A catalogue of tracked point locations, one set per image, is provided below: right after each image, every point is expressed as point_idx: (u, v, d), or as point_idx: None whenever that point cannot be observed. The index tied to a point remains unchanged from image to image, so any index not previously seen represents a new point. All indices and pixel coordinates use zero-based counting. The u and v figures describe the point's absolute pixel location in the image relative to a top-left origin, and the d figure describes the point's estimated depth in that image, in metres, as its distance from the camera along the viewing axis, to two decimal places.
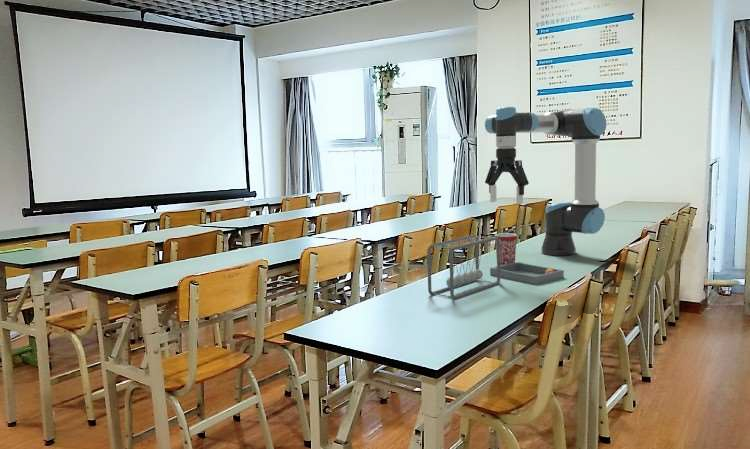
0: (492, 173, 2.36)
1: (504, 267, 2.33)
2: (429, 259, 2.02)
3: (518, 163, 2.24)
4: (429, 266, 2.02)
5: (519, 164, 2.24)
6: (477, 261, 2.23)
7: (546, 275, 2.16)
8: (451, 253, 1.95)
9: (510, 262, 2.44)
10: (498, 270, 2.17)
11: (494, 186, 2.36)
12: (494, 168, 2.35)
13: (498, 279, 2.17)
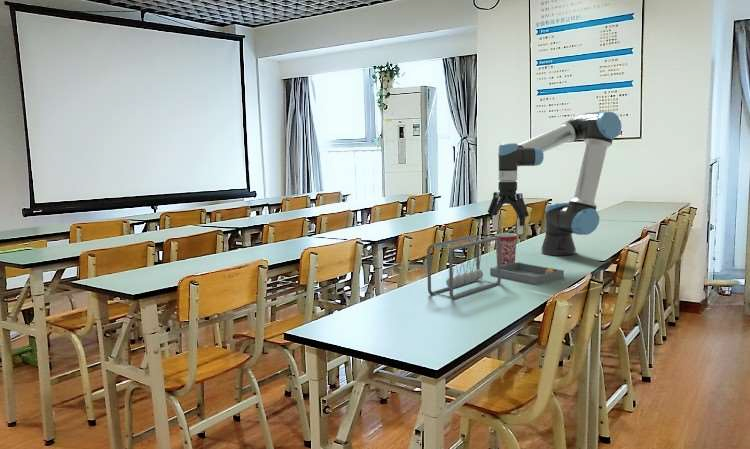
0: (494, 204, 2.52)
1: (504, 267, 2.33)
2: (429, 259, 2.02)
3: (519, 196, 2.39)
4: (429, 266, 2.02)
5: (520, 197, 2.40)
6: (478, 261, 2.23)
7: (546, 275, 2.16)
8: (450, 253, 1.95)
9: (510, 262, 2.44)
10: (499, 270, 2.17)
11: (496, 216, 2.52)
12: (496, 199, 2.51)
13: (499, 279, 2.17)
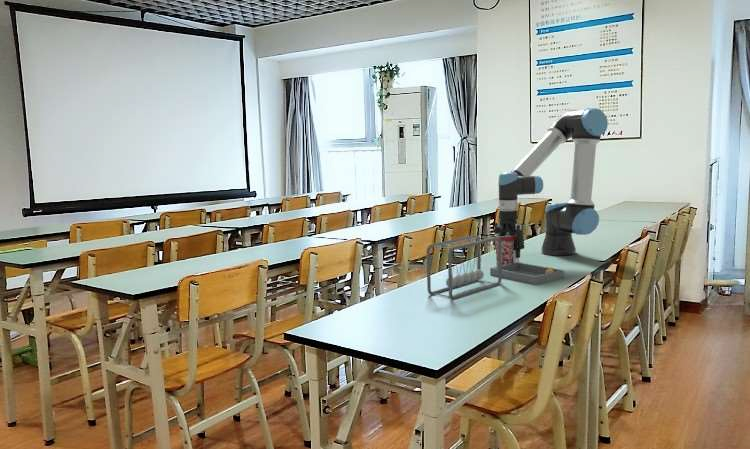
0: None
1: (504, 267, 2.33)
2: (428, 259, 2.02)
3: (519, 228, 2.41)
4: (428, 266, 2.02)
5: (520, 229, 2.42)
6: (479, 261, 2.23)
7: (546, 275, 2.16)
8: (449, 253, 1.95)
9: (510, 262, 2.44)
10: (499, 270, 2.16)
11: None
12: (498, 229, 2.52)
13: (499, 279, 2.17)
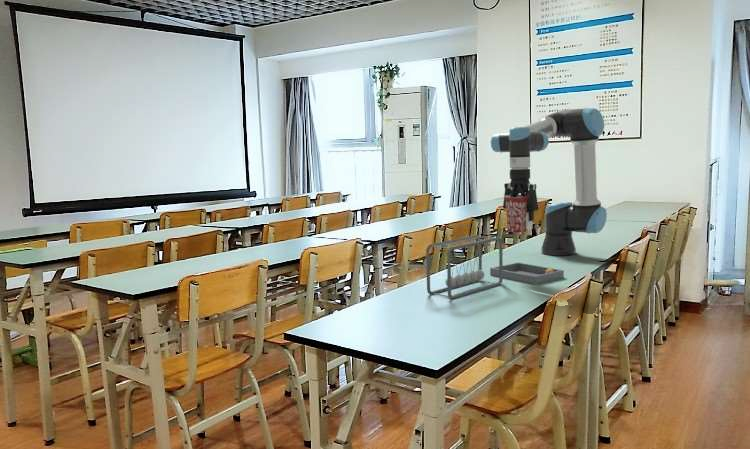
0: None
1: (504, 267, 2.33)
2: (428, 259, 2.02)
3: (532, 188, 2.19)
4: (428, 266, 2.03)
5: (533, 189, 2.19)
6: (480, 261, 2.22)
7: (546, 275, 2.16)
8: (448, 253, 1.95)
9: (522, 226, 2.22)
10: (500, 271, 2.16)
11: None
12: (509, 191, 2.29)
13: (500, 280, 2.16)
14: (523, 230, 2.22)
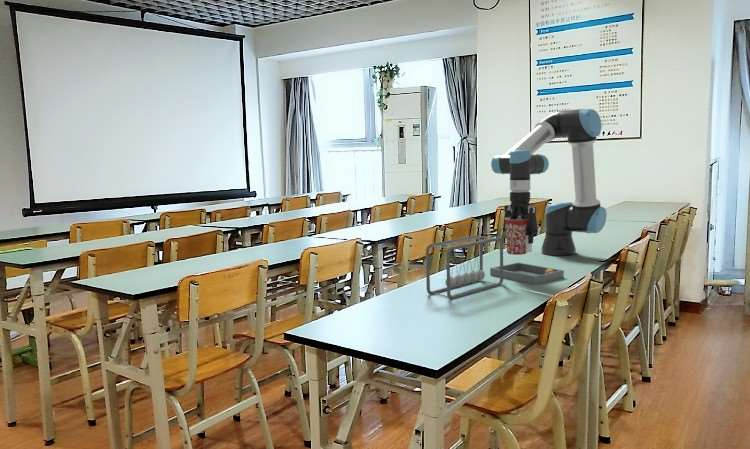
0: None
1: (504, 267, 2.33)
2: (427, 259, 2.03)
3: (532, 211, 2.19)
4: (427, 266, 2.03)
5: (533, 212, 2.20)
6: (481, 261, 2.22)
7: (546, 275, 2.16)
8: (448, 253, 1.95)
9: (521, 248, 2.23)
10: (501, 271, 2.15)
11: None
12: (509, 213, 2.30)
13: (501, 280, 2.16)
14: (523, 252, 2.23)
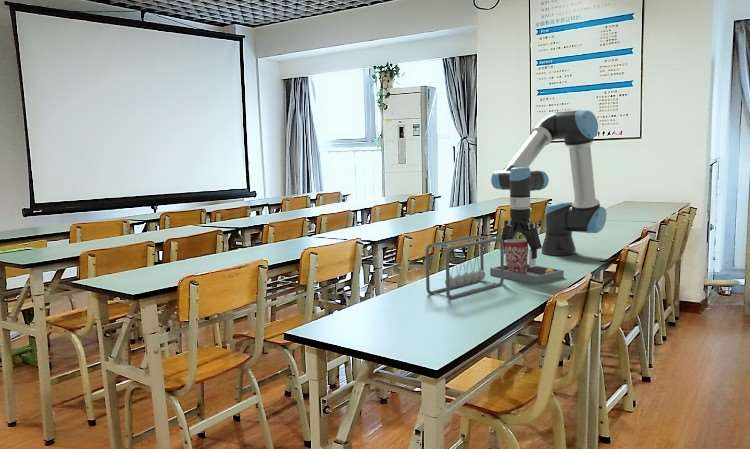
0: (506, 233, 2.32)
1: (504, 267, 2.33)
2: (427, 258, 2.03)
3: (533, 226, 2.20)
4: (427, 265, 2.03)
5: (533, 227, 2.20)
6: (482, 261, 2.22)
7: (546, 275, 2.16)
8: (447, 253, 1.95)
9: (521, 270, 2.24)
10: (501, 271, 2.15)
11: None
12: (508, 228, 2.31)
13: (501, 280, 2.15)
14: None
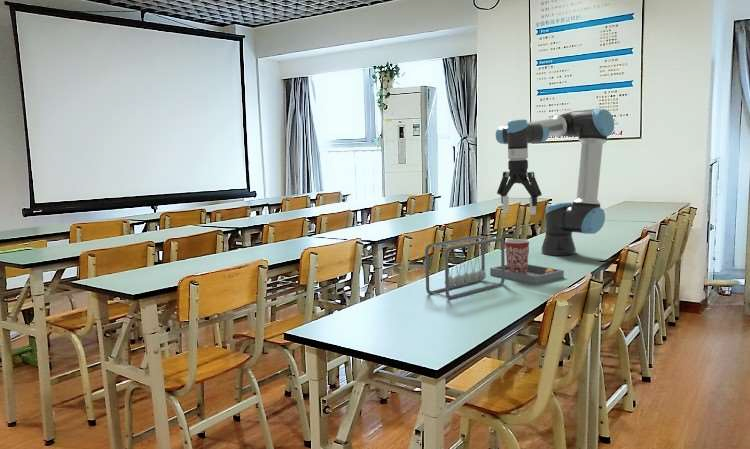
0: (504, 184, 2.40)
1: None
2: (427, 258, 2.03)
3: (531, 175, 2.28)
4: (427, 265, 2.03)
5: (532, 176, 2.28)
6: (483, 262, 2.22)
7: (546, 275, 2.16)
8: (446, 253, 1.95)
9: (522, 271, 2.24)
10: (502, 271, 2.15)
11: (506, 197, 2.41)
12: (506, 179, 2.39)
13: (502, 280, 2.15)
14: None
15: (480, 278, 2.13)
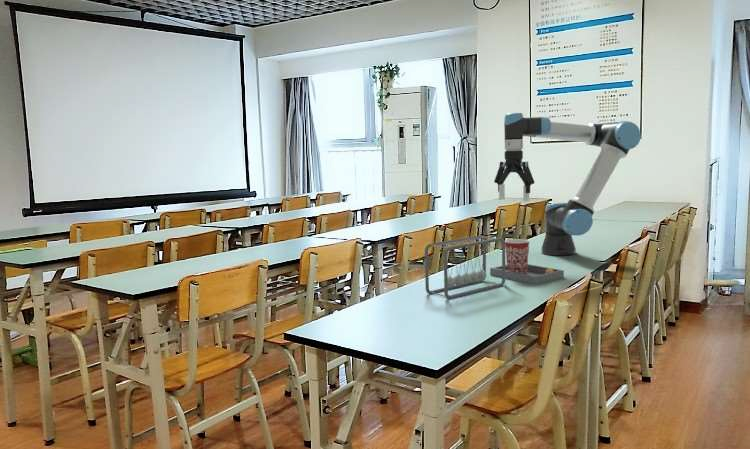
0: (501, 173, 2.58)
1: None
2: (426, 258, 2.03)
3: (525, 164, 2.46)
4: (426, 265, 2.04)
5: (526, 165, 2.46)
6: (484, 262, 2.21)
7: (546, 275, 2.16)
8: (445, 253, 1.96)
9: (522, 271, 2.24)
10: (503, 271, 2.14)
11: (502, 185, 2.58)
12: (502, 169, 2.57)
13: (503, 281, 2.15)
14: None
15: (480, 278, 2.13)
